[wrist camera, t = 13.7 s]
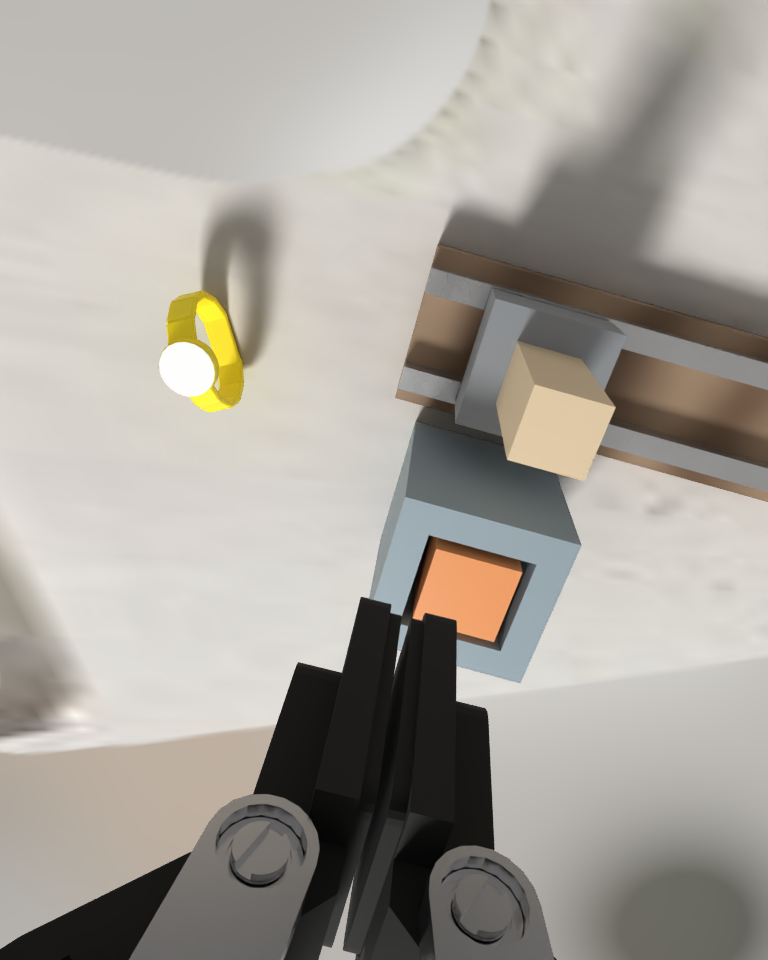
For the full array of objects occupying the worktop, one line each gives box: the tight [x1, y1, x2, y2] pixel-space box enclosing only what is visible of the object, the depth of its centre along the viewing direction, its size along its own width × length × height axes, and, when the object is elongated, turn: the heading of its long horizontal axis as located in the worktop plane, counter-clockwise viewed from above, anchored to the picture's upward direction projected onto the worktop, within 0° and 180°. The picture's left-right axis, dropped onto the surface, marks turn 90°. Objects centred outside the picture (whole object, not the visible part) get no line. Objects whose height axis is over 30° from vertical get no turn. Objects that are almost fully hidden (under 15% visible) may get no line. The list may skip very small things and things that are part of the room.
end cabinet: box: [369, 422, 581, 683], centre depth 36 cm, size 8×8×10 cm
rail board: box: [395, 244, 768, 502], centre depth 36 cm, size 23×8×3 cm, turn 75°
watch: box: [159, 291, 244, 412], centre depth 35 cm, size 6×3×6 cm, turn 13°
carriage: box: [455, 288, 627, 481], centre depth 29 cm, size 6×6×10 cm
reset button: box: [412, 536, 522, 642], centre depth 33 cm, size 4×4×3 cm
